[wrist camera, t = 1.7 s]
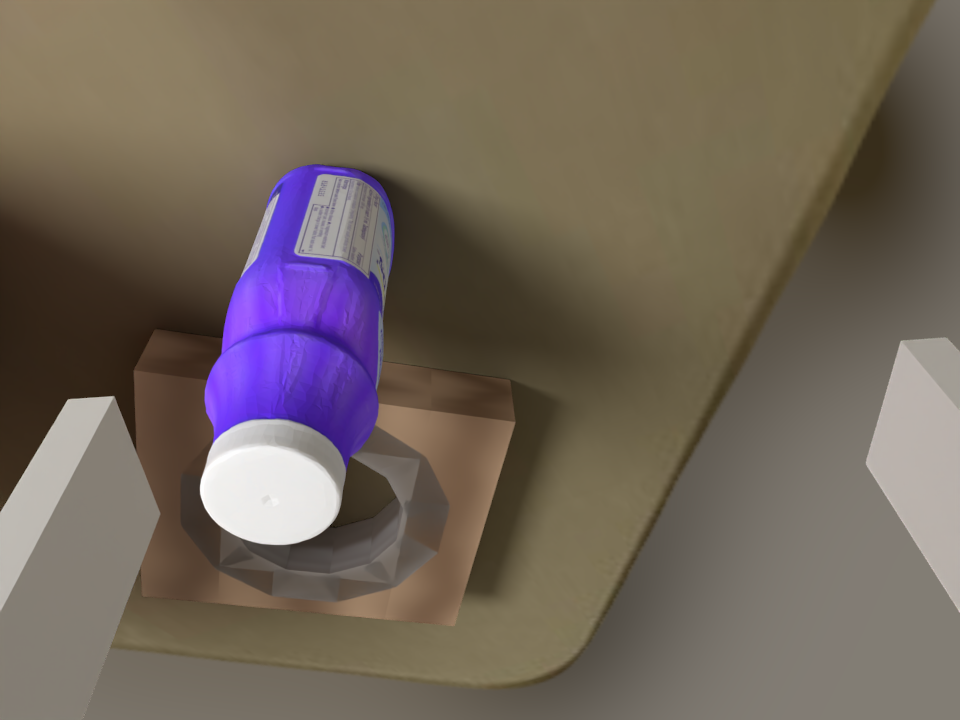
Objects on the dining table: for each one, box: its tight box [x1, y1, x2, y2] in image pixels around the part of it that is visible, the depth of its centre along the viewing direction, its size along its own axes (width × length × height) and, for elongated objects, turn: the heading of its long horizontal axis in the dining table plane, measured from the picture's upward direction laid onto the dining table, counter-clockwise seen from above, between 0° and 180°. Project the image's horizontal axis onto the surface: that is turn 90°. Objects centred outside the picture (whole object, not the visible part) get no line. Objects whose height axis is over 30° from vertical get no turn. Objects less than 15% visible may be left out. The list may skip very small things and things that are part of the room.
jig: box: [134, 329, 515, 626], centre depth 45 cm, size 18×16×4 cm
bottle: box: [200, 164, 394, 545], centre depth 31 cm, size 7×6×17 cm
